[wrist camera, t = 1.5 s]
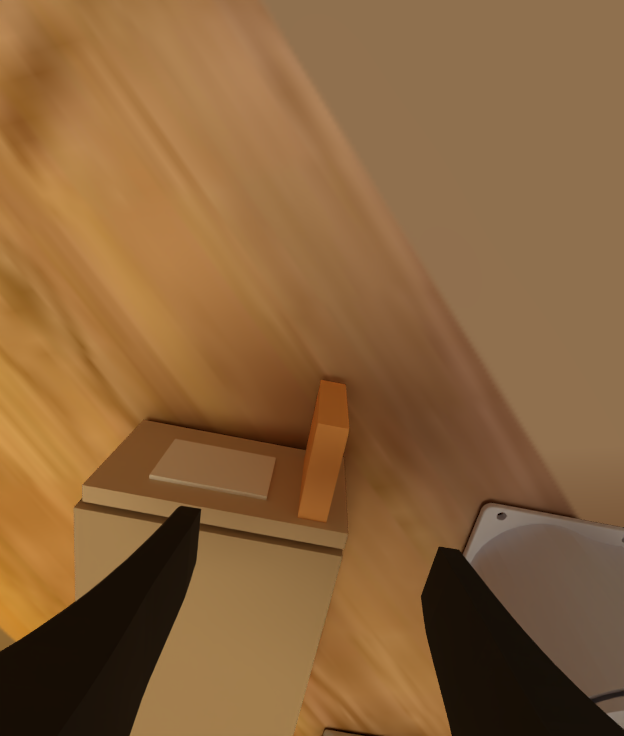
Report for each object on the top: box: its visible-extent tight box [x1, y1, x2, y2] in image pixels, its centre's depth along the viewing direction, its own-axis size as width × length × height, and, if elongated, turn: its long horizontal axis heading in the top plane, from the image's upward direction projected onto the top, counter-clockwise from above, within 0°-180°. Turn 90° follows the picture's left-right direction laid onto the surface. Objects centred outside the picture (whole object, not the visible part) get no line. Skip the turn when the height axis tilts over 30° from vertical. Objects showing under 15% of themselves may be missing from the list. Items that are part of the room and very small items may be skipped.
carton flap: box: [82, 380, 349, 549], centre depth 18 cm, size 11×5×6 cm, turn 79°
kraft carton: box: [74, 499, 342, 736], centre depth 22 cm, size 11×16×6 cm
